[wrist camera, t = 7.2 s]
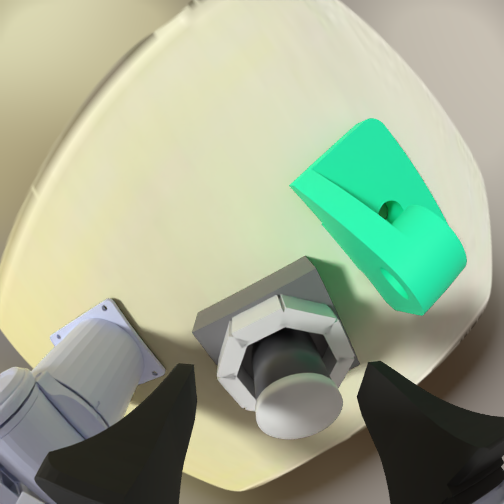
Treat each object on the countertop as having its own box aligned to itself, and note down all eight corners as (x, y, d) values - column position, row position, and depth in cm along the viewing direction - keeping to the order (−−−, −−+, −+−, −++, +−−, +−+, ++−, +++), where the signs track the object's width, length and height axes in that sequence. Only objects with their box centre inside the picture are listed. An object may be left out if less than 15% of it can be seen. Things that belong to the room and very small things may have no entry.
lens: (311, 375, 19) (332, 434, 13) (249, 378, 19) (254, 441, 13) (320, 322, 18) (351, 378, 12) (251, 324, 18) (258, 385, 12)
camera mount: (437, 235, 20) (526, 268, 10) (380, 297, 21) (453, 364, 11) (358, 119, 18) (446, 81, 8) (286, 185, 19) (336, 188, 9)
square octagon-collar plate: (254, 389, 23) (258, 430, 18) (197, 312, 21) (187, 348, 16) (347, 344, 22) (369, 379, 17) (305, 255, 20) (325, 278, 15)
